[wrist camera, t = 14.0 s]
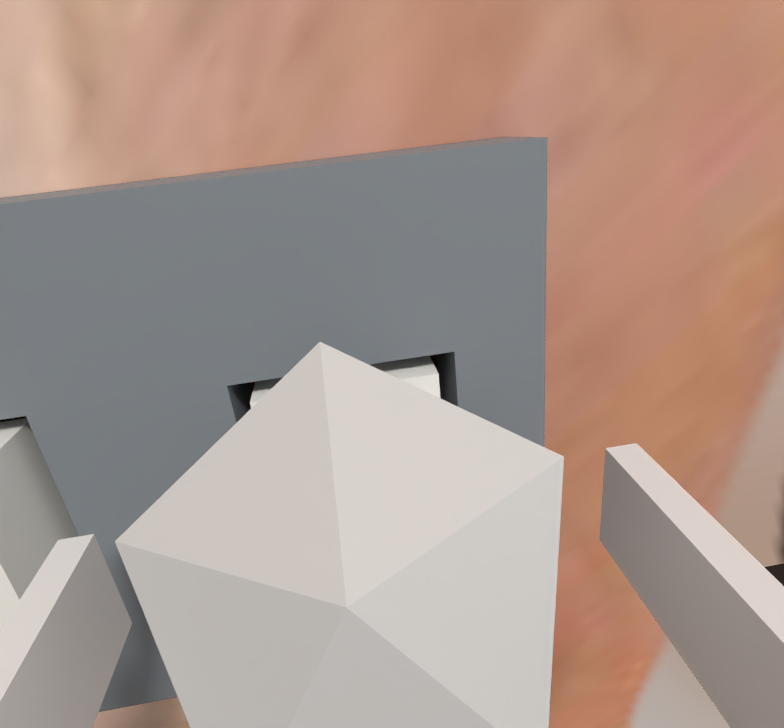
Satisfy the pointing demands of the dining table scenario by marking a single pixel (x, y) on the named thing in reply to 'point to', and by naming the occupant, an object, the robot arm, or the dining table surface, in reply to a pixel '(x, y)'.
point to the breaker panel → (258, 314)
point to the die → (355, 562)
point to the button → (26, 512)
